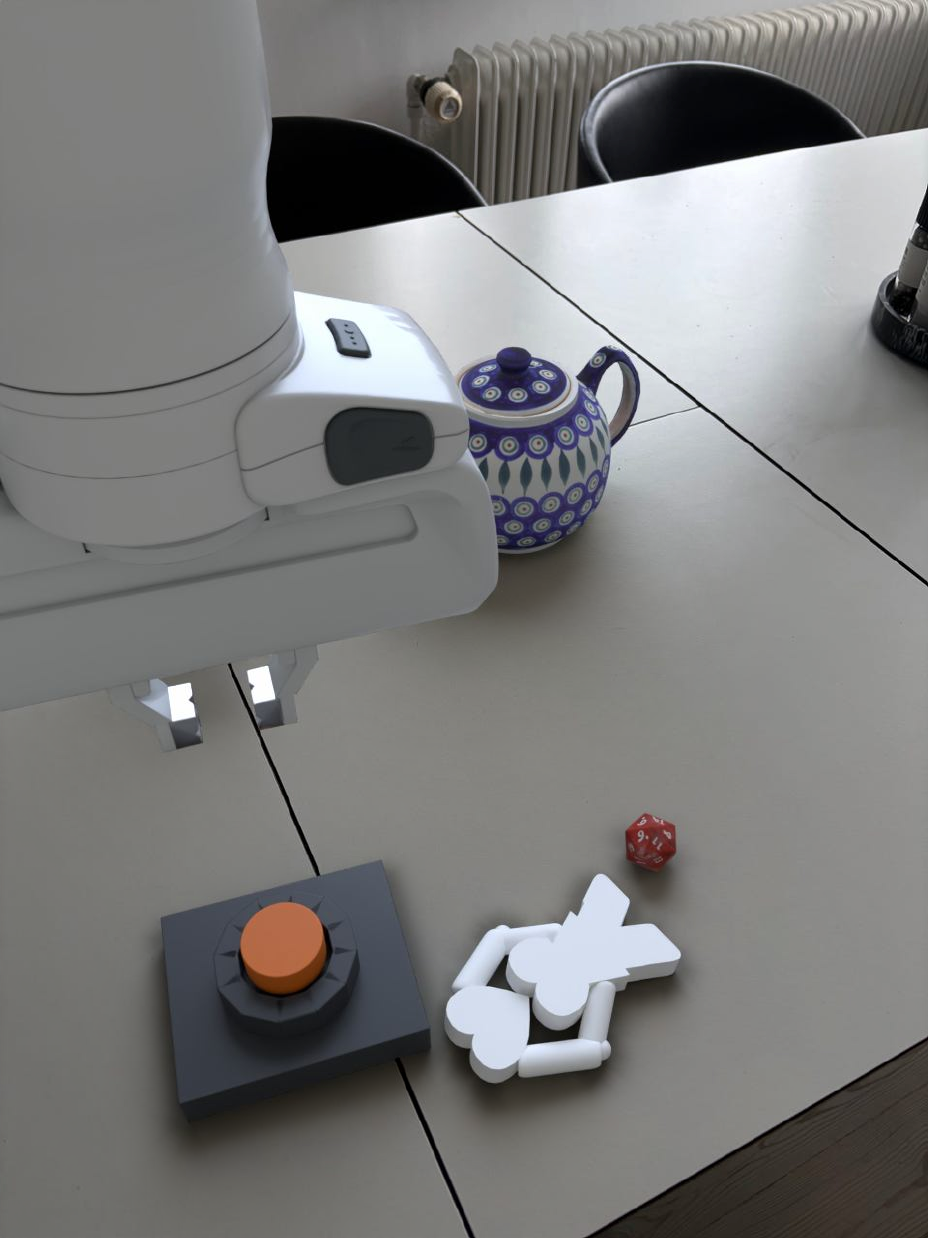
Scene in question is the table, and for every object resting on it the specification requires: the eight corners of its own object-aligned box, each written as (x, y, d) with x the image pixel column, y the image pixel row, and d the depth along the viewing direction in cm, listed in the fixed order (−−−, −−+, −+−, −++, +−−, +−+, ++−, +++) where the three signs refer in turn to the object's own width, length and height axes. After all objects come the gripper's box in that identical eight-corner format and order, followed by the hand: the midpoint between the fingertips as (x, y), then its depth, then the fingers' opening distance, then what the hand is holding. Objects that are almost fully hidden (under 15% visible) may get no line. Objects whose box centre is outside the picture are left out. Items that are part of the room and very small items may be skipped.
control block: (187, 1123, 48) (170, 1088, 45) (168, 938, 55) (153, 898, 52) (431, 1048, 50) (429, 1011, 47) (383, 881, 57) (379, 840, 54)
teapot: (578, 428, 91) (592, 271, 81) (688, 513, 82) (719, 347, 72) (331, 518, 82) (312, 352, 71) (424, 625, 72) (418, 453, 62)
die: (680, 847, 59) (688, 817, 57) (662, 888, 57) (669, 858, 55) (633, 827, 60) (639, 797, 58) (613, 866, 58) (619, 836, 56)
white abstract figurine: (410, 987, 52) (413, 964, 50) (581, 879, 58) (587, 856, 57) (519, 1132, 47) (524, 1111, 45) (693, 997, 53) (703, 975, 51)
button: (251, 1005, 48) (246, 987, 47) (240, 932, 51) (234, 914, 50) (333, 981, 49) (330, 964, 48) (317, 911, 52) (314, 893, 50)
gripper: (-285, 540, 24) (-72, 864, 34) (522, 405, 28) (508, 725, 38) (-235, 406, 28) (-59, 726, 38) (458, 307, 33) (460, 616, 42)
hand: (229, 725), depth 38 cm, fingers closed
